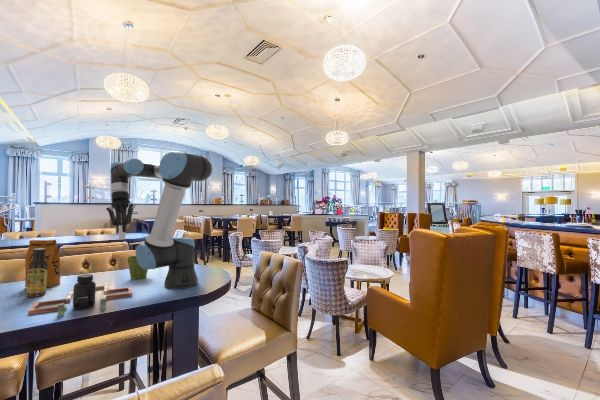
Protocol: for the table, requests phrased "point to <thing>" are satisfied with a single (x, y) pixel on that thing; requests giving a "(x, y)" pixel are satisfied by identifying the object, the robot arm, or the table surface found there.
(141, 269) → the plant pot
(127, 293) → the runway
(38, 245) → the coffee package
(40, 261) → the sauce bottle
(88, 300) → the supplement bottle
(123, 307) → the table surface
